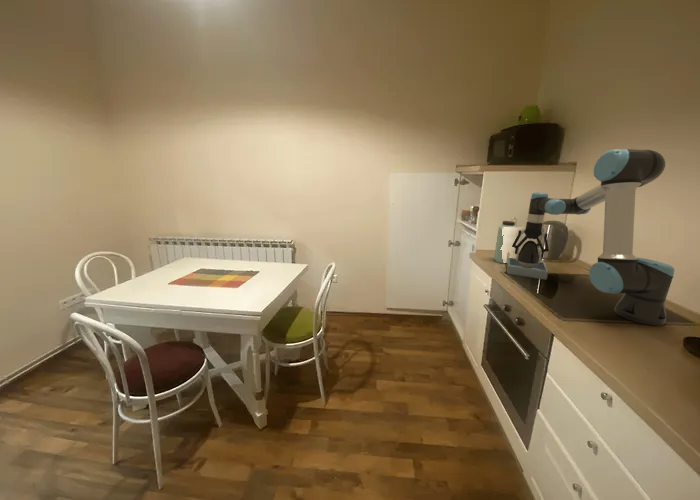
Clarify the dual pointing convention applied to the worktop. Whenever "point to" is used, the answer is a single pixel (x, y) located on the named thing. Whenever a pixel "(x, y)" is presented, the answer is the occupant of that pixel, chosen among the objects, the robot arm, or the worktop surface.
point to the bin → (527, 270)
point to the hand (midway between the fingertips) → (527, 261)
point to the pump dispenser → (529, 255)
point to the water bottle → (501, 240)
